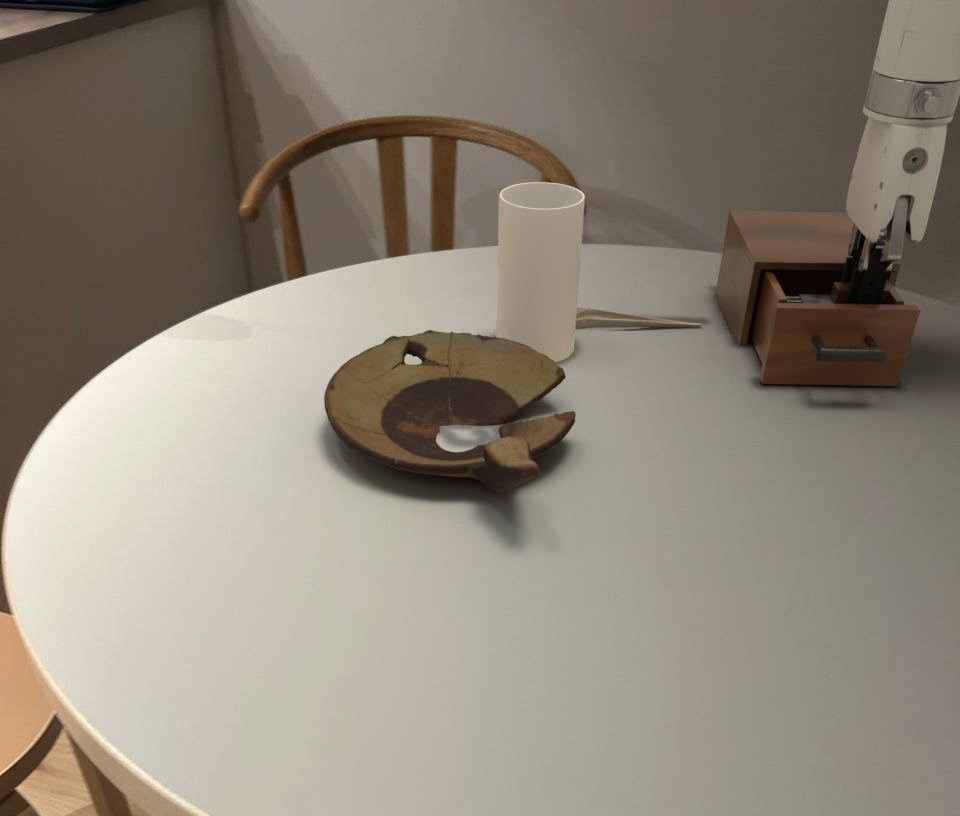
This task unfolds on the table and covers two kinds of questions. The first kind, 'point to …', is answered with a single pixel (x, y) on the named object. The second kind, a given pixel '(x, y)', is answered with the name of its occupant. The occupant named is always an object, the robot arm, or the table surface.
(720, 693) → the table surface
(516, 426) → the broken ceramic dish
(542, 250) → the cup
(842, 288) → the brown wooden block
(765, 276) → the drawer
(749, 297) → the cabinet
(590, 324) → the tweezers
